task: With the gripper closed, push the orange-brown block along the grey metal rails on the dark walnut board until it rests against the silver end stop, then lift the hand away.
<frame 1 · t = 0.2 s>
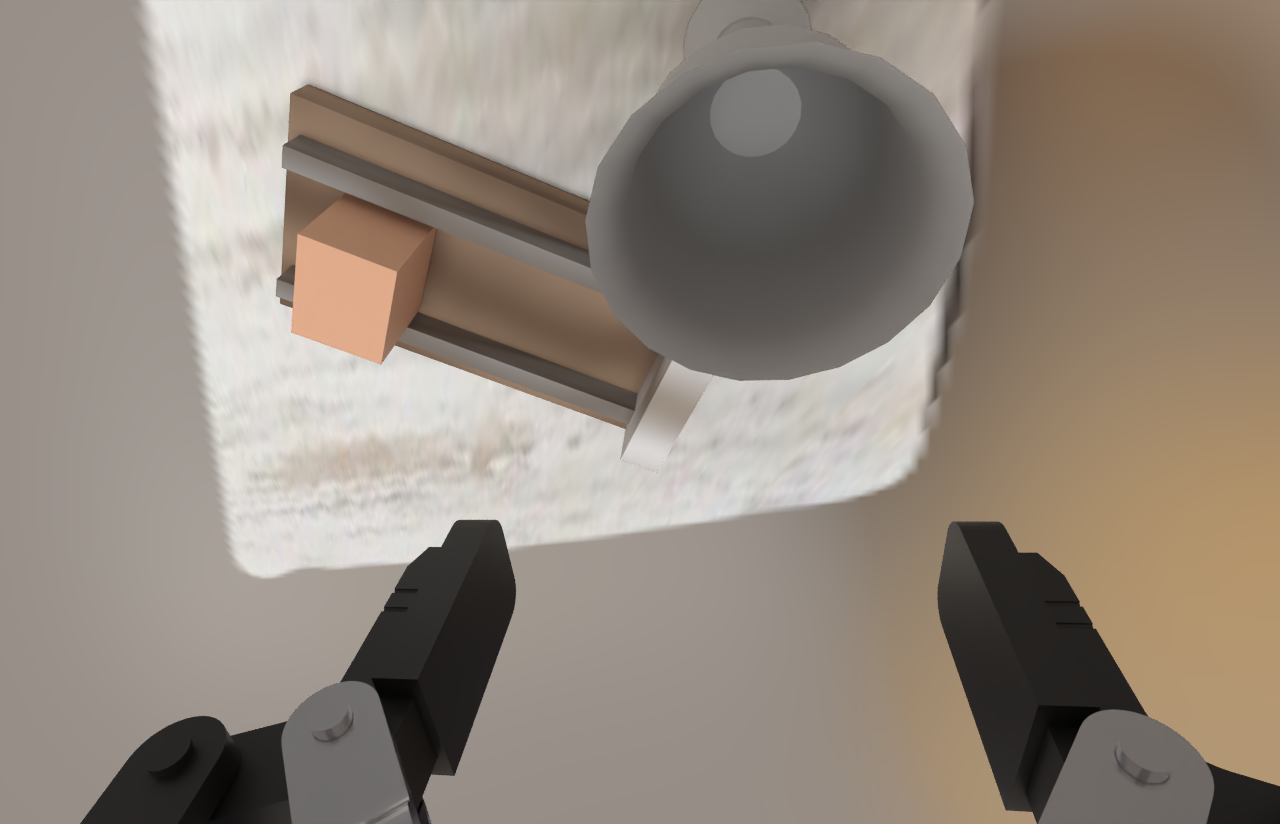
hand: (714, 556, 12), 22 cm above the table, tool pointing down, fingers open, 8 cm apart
rail board: (516, 281, 35), on the table
chalice: (747, 48, 27), on the table
orange-brown block: (366, 275, 31), point 4 cm above the table, slide at 0.0 cm
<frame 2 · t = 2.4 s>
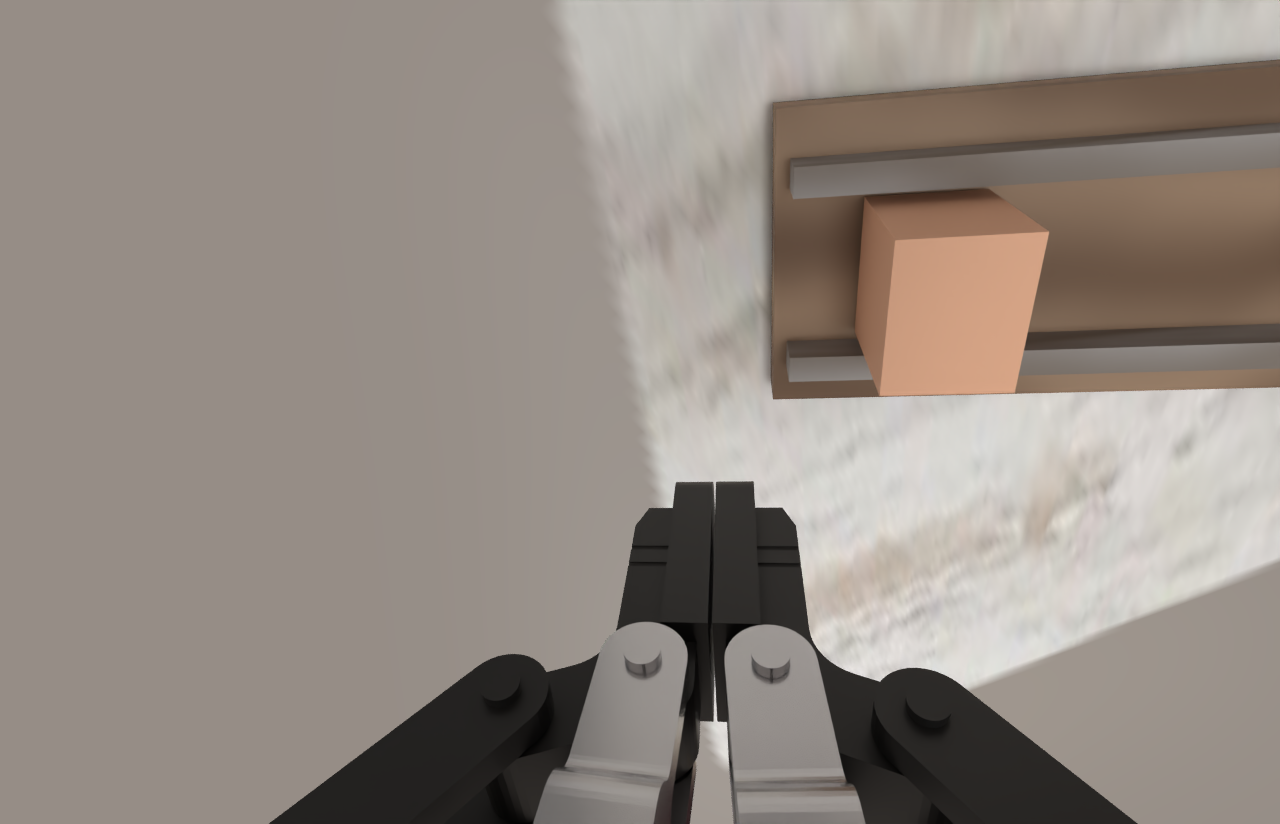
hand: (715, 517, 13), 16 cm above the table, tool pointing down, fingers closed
rail board: (1078, 240, 25), on the table
orange-brown block: (935, 289, 22), point 4 cm above the table, slide at 0.0 cm
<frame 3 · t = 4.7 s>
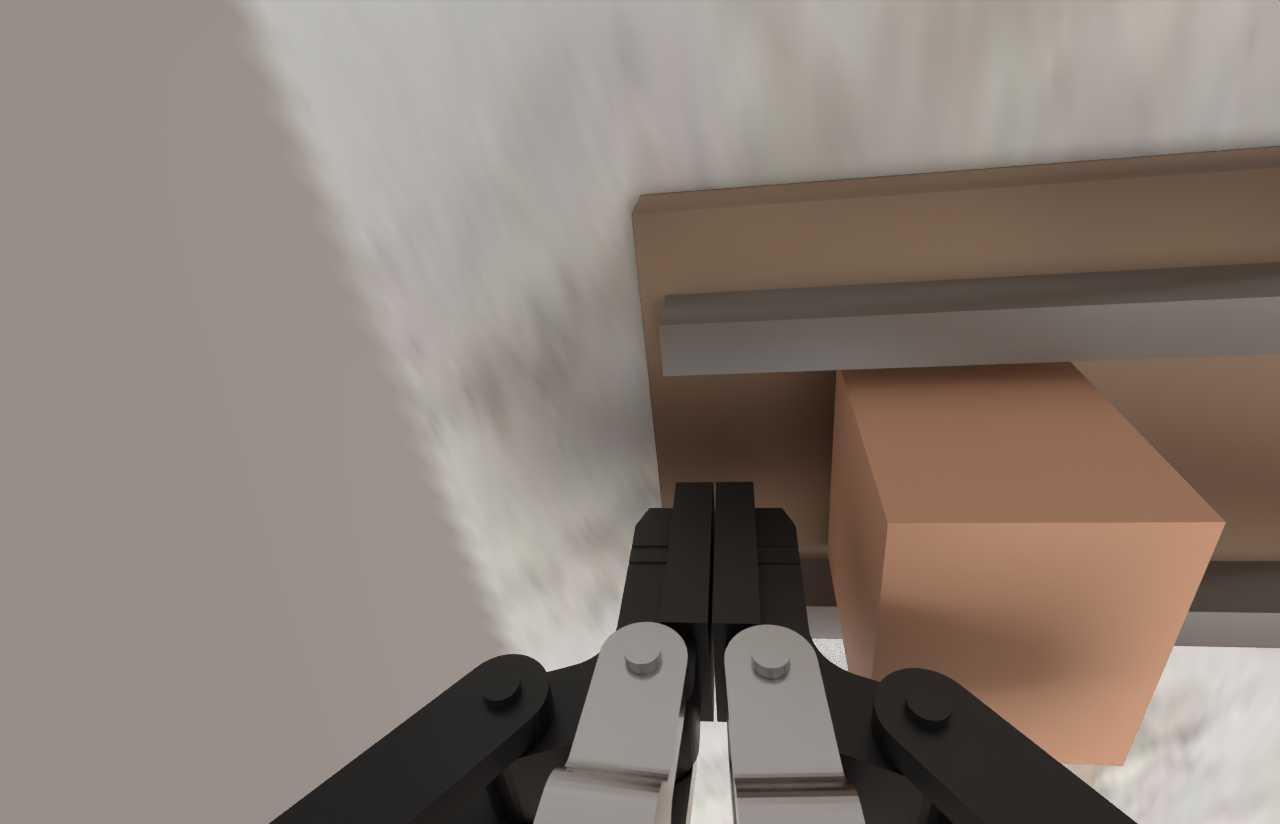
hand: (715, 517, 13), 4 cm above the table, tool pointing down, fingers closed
rail board: (1161, 413, 15), on the table
orange-brown block: (965, 541, 12), point 4 cm above the table, slide at 0.8 cm, touching gripper
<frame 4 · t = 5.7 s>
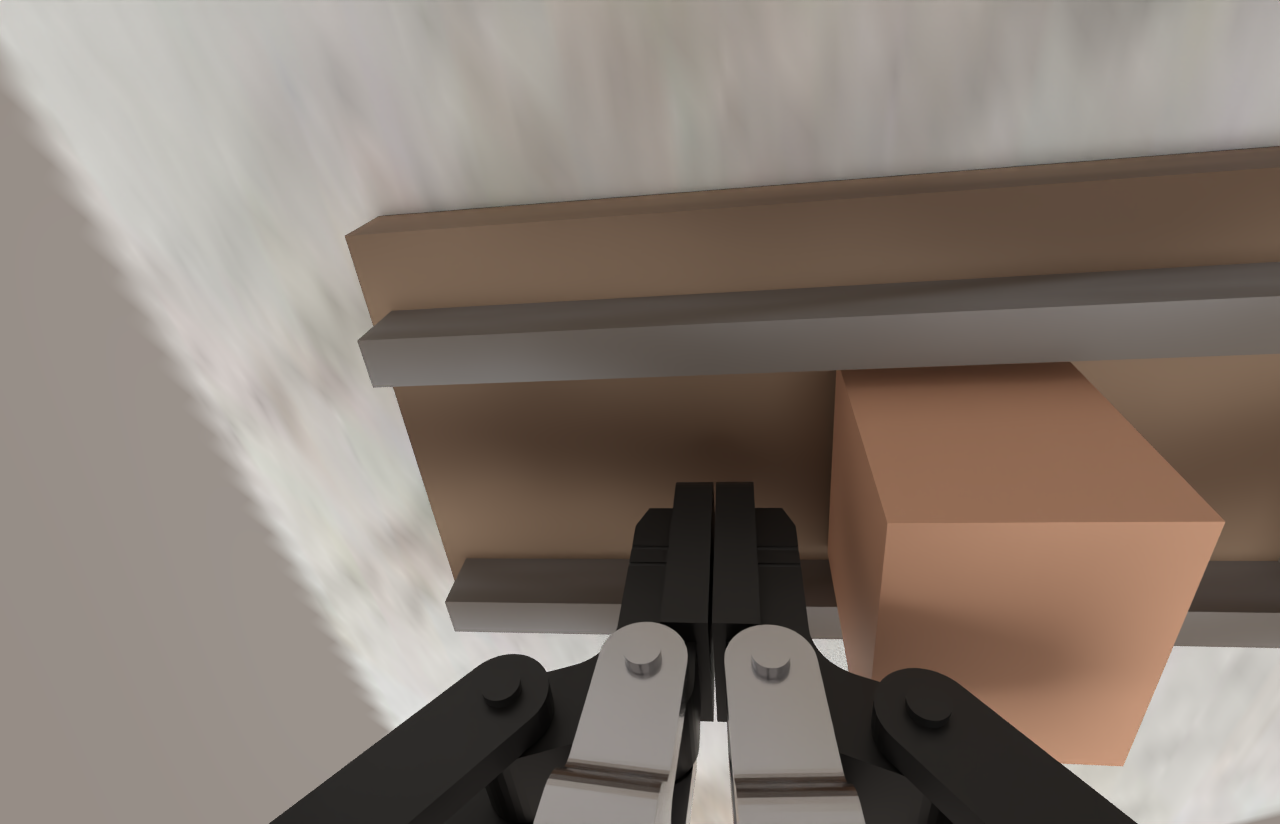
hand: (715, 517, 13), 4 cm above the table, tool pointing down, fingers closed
rail board: (889, 420, 16), on the table
orange-brown block: (965, 541, 12), point 4 cm above the table, slide at 6.5 cm, touching gripper
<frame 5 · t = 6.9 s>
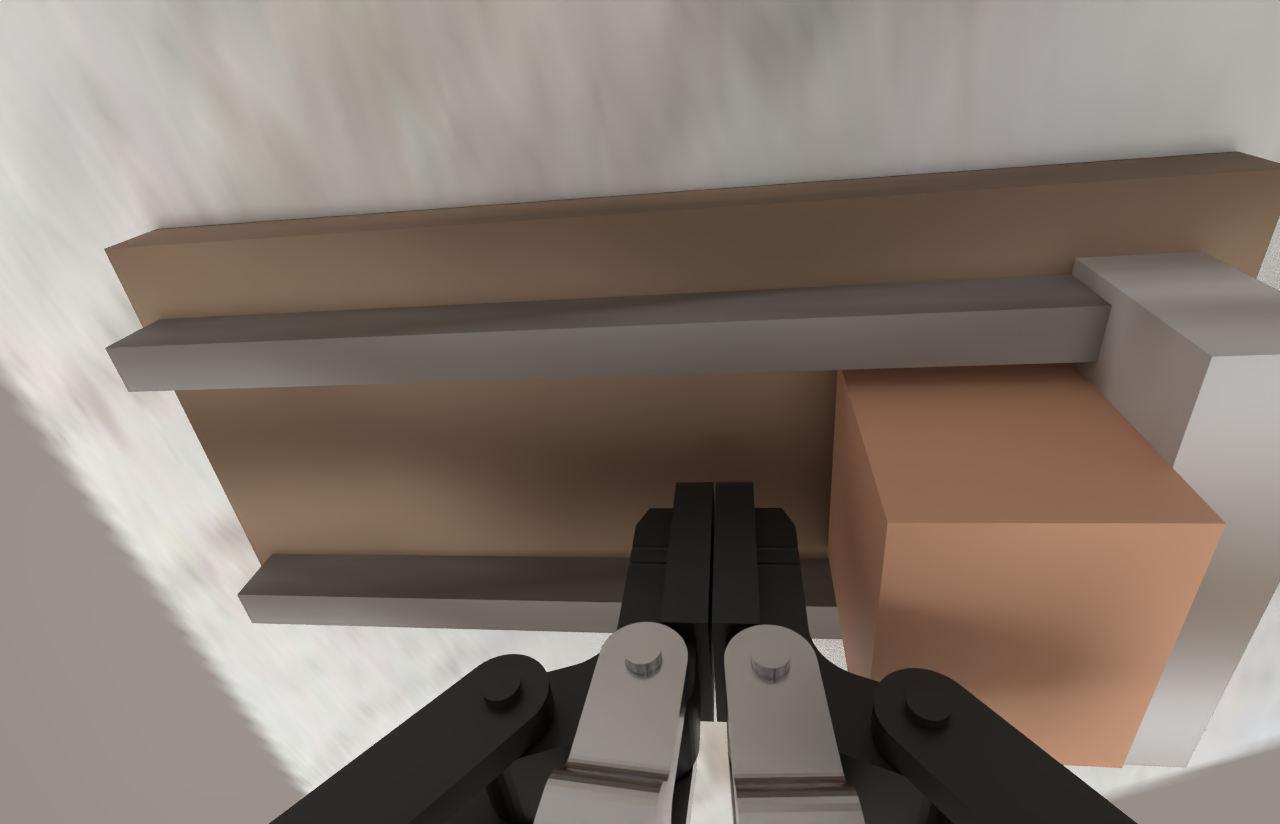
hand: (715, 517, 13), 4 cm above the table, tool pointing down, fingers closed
rail board: (654, 425, 17), on the table
orange-brown block: (965, 542, 12), point 4 cm above the table, slide at 12.0 cm, touching gripper, rail board
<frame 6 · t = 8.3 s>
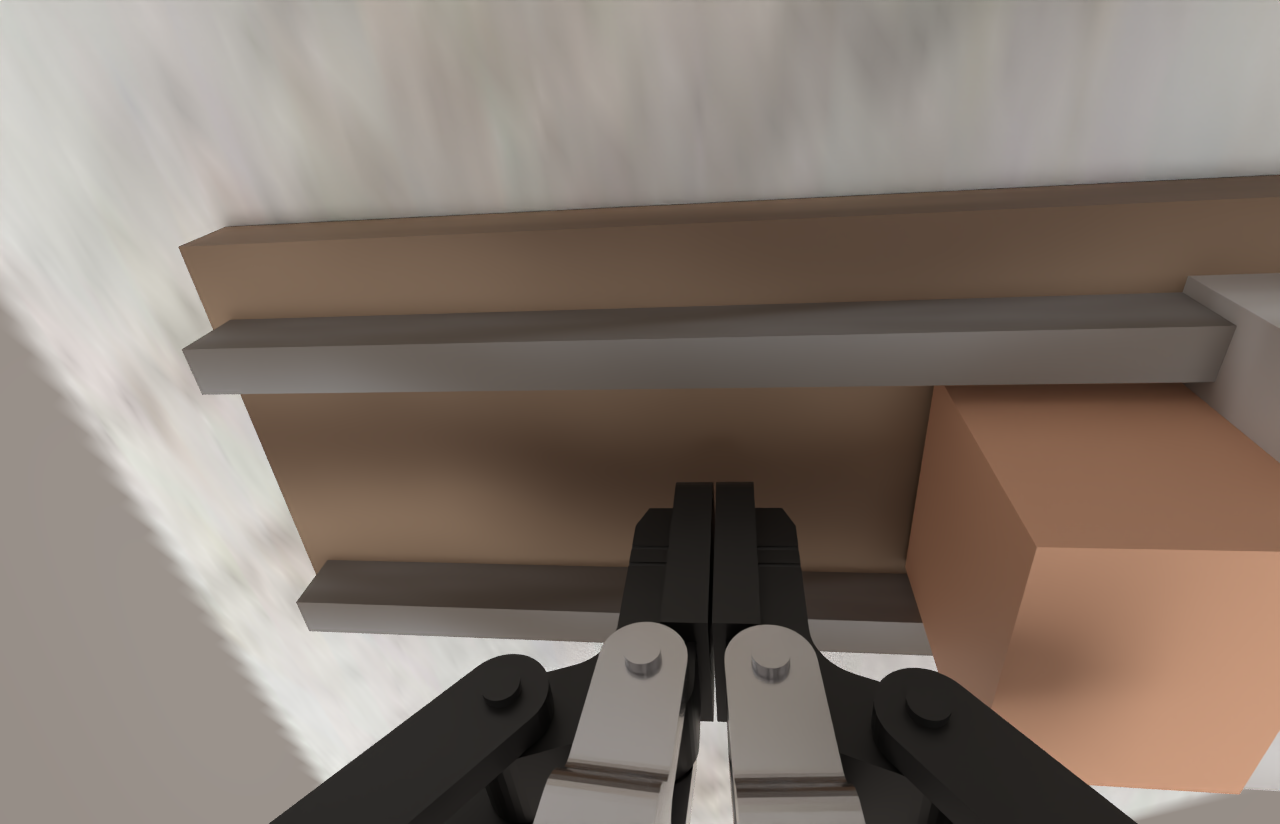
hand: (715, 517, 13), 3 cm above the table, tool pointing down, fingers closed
rail board: (728, 435, 16), on the table
orange-brown block: (1072, 562, 12), point 4 cm above the table, slide at 12.0 cm, touching rail board
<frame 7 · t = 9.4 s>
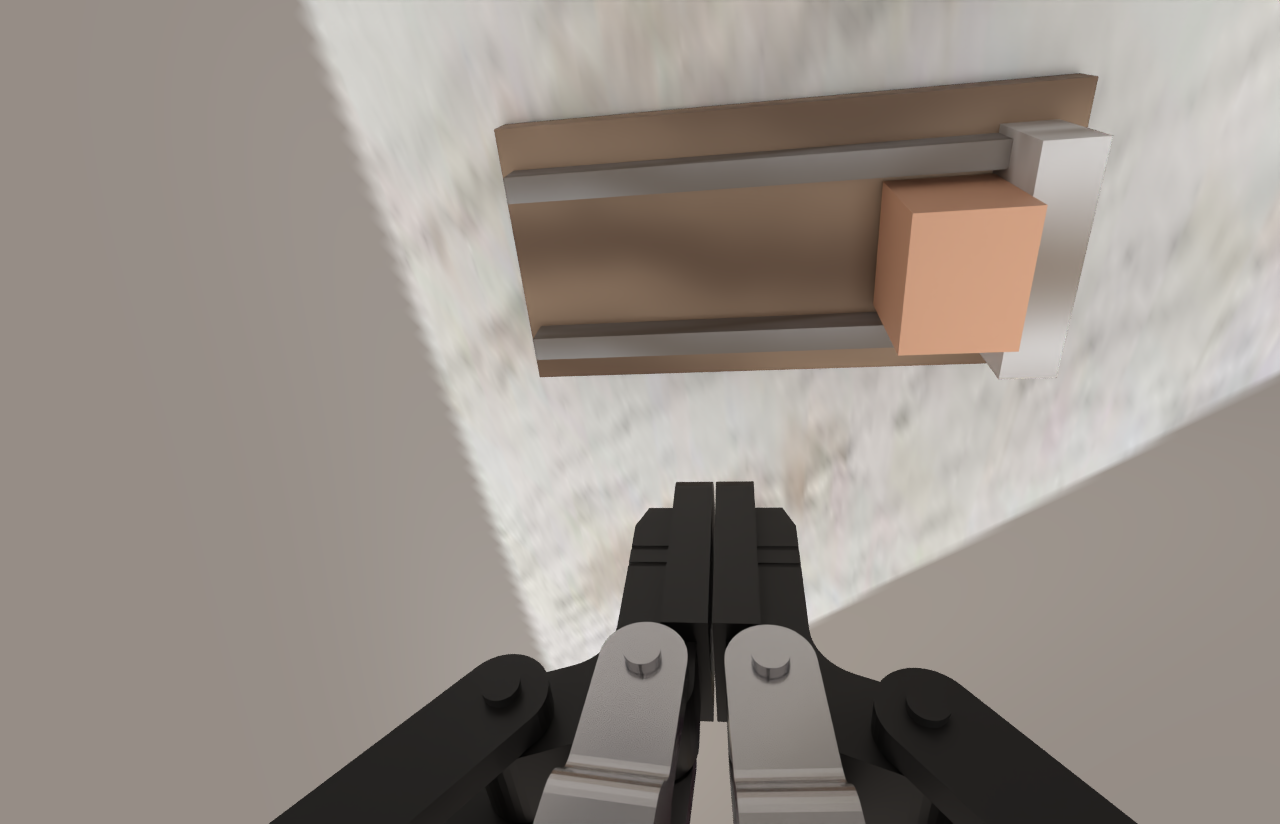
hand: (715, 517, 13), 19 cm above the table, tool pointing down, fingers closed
rail board: (774, 239, 29), on the table
orange-brown block: (947, 262, 25), point 4 cm above the table, slide at 12.0 cm, touching rail board
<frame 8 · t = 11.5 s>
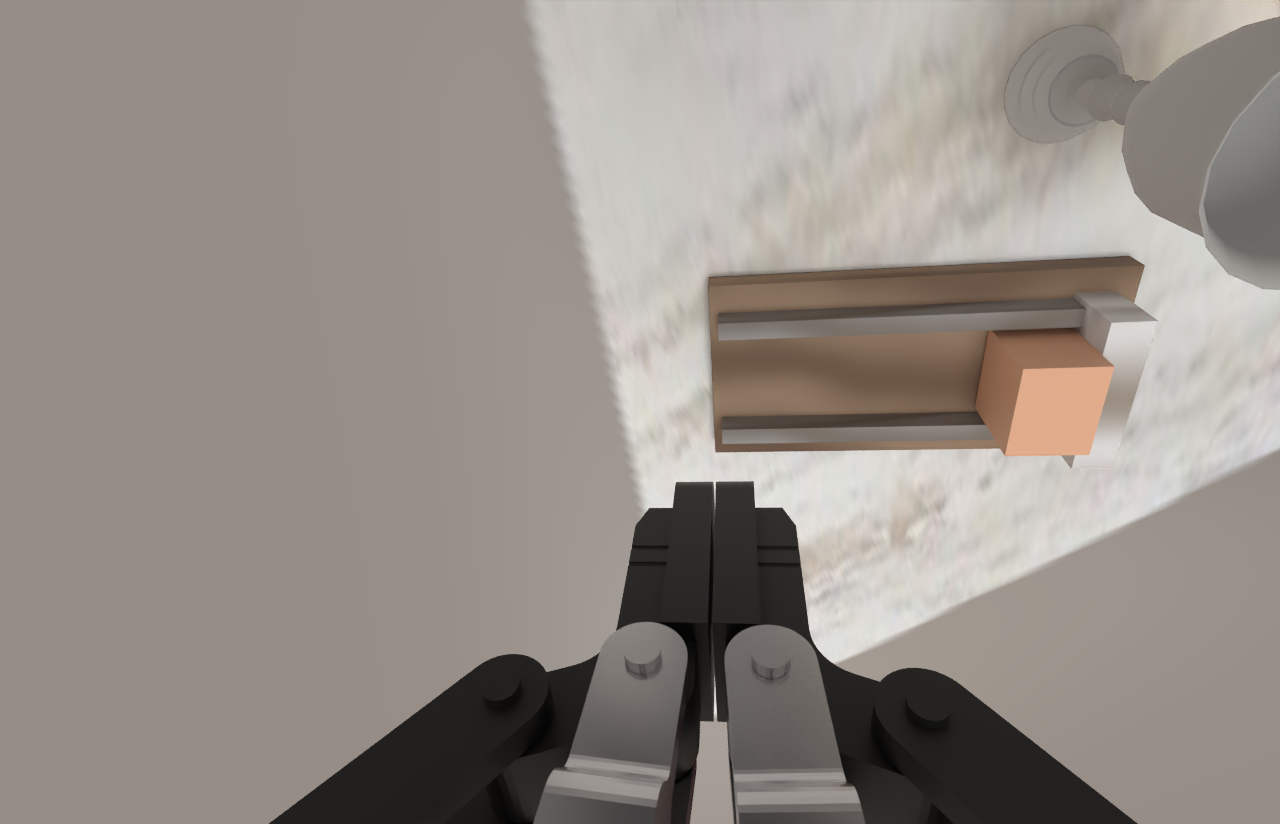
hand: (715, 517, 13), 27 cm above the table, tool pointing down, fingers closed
rail board: (900, 357, 40), on the table
chalice: (1060, 86, 32), on the table
orange-brown block: (1037, 389, 35), point 4 cm above the table, slide at 12.0 cm, touching rail board
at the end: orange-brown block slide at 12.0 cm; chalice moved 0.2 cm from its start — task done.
